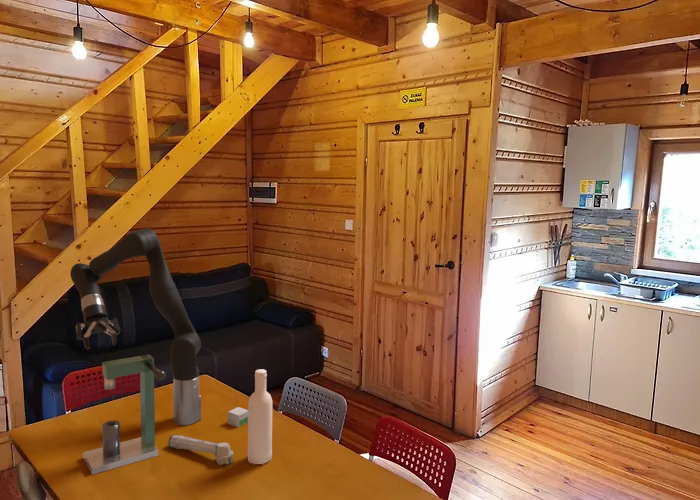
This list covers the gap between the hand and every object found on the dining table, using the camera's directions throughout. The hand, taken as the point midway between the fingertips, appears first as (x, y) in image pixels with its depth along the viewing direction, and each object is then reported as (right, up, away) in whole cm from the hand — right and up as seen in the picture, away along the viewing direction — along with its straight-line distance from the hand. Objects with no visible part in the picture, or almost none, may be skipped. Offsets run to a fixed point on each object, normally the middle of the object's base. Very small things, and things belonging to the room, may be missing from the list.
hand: (102, 346), depth 184 cm
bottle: (+60, -34, -16) cm, 70 cm away
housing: (+12, -31, -19) cm, 38 cm away
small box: (+47, -31, +10) cm, 57 cm away
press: (+17, -33, -21) cm, 43 cm away
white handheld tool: (+40, -34, -14) cm, 54 cm away
